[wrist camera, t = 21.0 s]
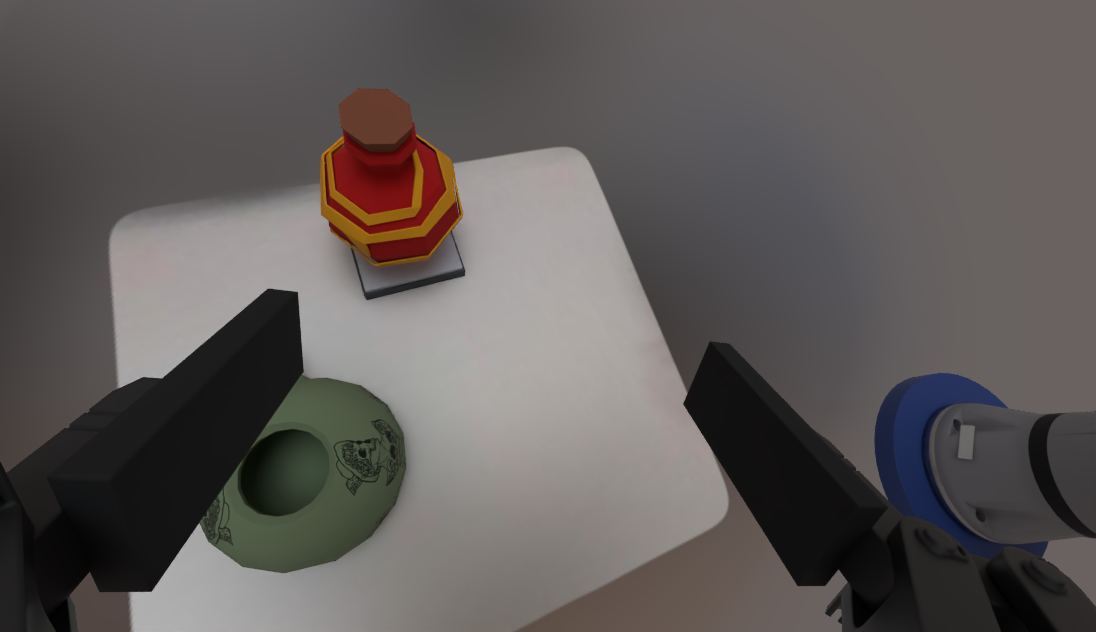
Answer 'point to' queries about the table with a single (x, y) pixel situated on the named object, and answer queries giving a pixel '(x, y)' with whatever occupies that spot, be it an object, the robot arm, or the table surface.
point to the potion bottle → (387, 182)
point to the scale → (409, 271)
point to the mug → (311, 480)
